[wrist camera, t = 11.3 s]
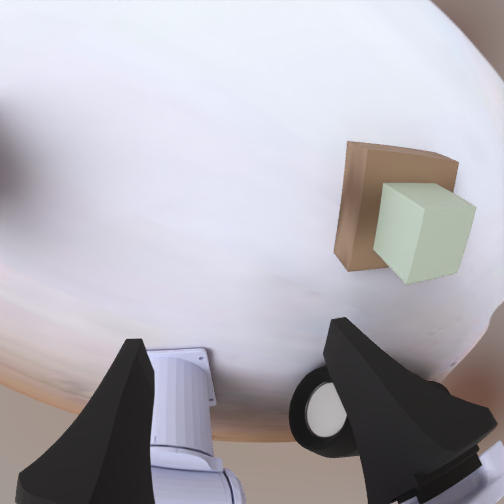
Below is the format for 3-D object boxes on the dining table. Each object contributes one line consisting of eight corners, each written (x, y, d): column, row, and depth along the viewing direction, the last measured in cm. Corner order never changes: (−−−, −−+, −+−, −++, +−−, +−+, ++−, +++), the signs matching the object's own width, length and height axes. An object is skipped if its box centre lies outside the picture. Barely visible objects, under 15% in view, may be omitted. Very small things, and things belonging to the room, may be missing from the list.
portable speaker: (439, 369, 35) (468, 416, 27) (394, 407, 39) (417, 453, 30) (335, 336, 26) (377, 425, 17) (274, 394, 29) (295, 474, 21)
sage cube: (422, 242, 18) (457, 272, 15) (373, 249, 18) (405, 284, 14) (435, 183, 16) (476, 206, 13) (383, 182, 16) (424, 208, 12)
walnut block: (413, 243, 22) (434, 261, 20) (331, 249, 21) (348, 271, 18) (432, 151, 18) (458, 161, 16) (344, 140, 17) (367, 149, 14)
